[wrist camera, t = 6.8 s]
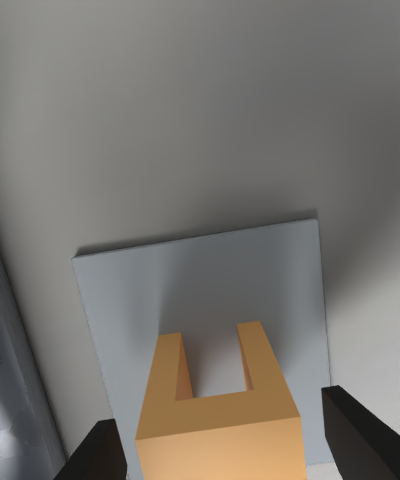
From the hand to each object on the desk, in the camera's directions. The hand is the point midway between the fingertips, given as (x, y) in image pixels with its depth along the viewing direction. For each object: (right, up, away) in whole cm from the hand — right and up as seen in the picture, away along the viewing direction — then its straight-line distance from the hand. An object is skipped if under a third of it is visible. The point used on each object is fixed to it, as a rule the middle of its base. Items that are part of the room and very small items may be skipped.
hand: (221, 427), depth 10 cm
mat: (0, +1, +3) cm, 3 cm away
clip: (0, +1, +3) cm, 3 cm away
